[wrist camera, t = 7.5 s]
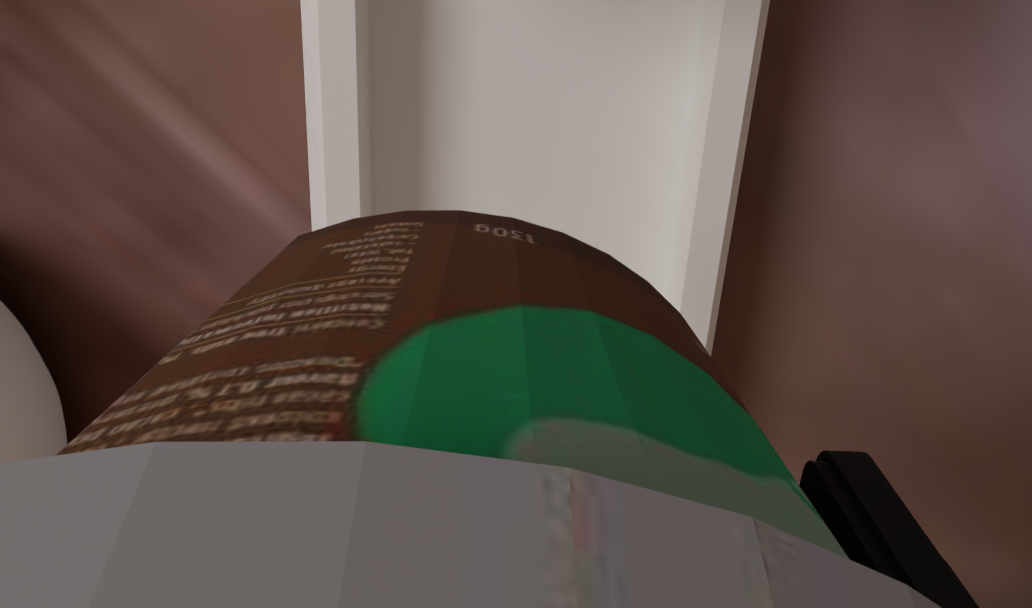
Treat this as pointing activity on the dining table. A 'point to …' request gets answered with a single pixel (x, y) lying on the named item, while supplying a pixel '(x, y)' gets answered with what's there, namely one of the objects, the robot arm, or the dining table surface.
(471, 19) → the white dish rack
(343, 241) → the food container
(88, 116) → the dining table surface
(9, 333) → the milk container
